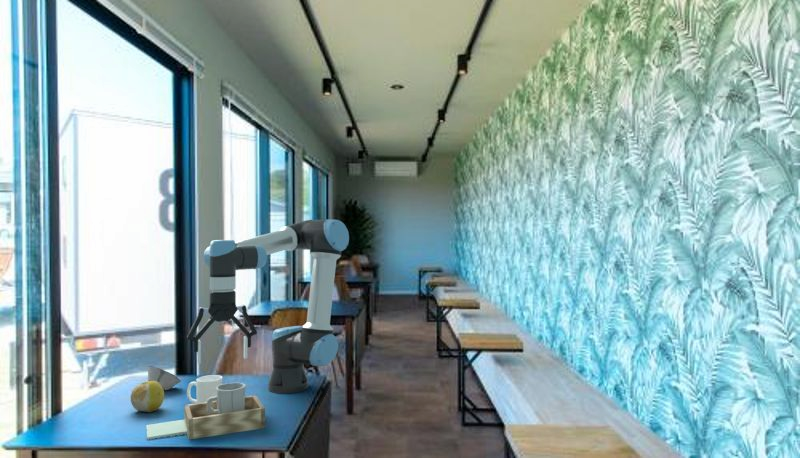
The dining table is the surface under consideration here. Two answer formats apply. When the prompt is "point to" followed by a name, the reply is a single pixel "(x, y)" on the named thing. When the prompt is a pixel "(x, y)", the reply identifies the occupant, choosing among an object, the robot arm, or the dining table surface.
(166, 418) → the dining table surface
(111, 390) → the dining table surface
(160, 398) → the fruit
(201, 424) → the caddy
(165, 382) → the bowl
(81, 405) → the dining table surface
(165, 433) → the mat
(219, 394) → the cup
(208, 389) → the cup
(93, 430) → the dining table surface
